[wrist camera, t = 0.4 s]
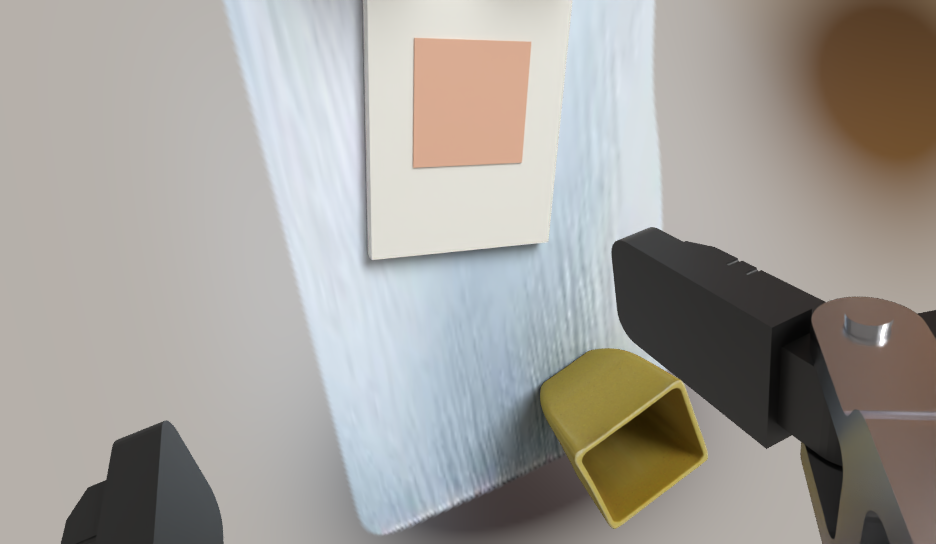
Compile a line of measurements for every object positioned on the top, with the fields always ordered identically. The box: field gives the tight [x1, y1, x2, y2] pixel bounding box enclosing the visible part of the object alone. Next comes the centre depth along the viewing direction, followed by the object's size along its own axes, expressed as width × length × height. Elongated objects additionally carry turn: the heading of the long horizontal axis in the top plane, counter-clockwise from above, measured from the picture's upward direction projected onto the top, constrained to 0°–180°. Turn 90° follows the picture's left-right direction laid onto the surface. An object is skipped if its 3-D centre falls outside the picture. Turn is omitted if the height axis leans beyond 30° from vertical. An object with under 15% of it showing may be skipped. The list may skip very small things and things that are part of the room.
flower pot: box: [540, 348, 708, 529], centre depth 45 cm, size 9×9×9 cm
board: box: [363, 0, 572, 260], centre depth 36 cm, size 18×12×1 cm, turn 177°
